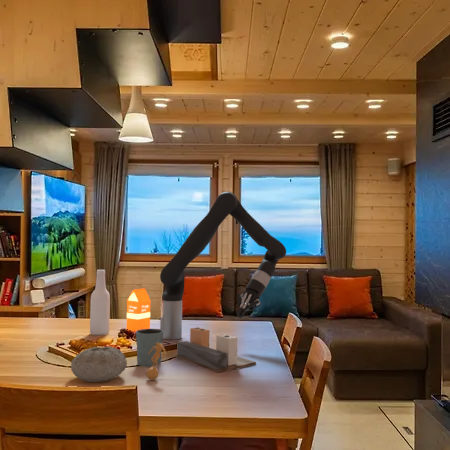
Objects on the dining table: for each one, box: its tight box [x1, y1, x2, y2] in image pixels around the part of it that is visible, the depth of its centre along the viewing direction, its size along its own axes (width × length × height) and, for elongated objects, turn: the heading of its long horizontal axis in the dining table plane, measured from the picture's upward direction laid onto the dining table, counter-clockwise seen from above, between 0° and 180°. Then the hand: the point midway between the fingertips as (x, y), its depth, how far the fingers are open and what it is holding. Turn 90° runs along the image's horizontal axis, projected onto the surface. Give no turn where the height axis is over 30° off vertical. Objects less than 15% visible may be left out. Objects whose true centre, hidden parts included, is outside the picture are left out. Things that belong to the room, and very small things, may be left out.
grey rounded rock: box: [70, 346, 128, 383], centre depth 160 cm, size 18×18×10 cm
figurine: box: [145, 342, 166, 381], centre depth 160 cm, size 8×6×12 cm
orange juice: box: [126, 288, 151, 333], centre depth 241 cm, size 8×9×20 cm
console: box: [175, 340, 257, 374], centre depth 184 cm, size 18×26×6 cm
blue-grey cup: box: [135, 328, 164, 368], centre depth 179 cm, size 10×10×12 cm
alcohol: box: [89, 269, 111, 336], centre depth 229 cm, size 9×9×30 cm
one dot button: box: [215, 333, 238, 366], centre depth 177 cm, size 4×7×10 cm, turn 40°
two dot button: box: [189, 326, 211, 348], centre depth 190 cm, size 4×7×10 cm, turn 40°
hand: (238, 316), depth 206 cm, fingers closed
